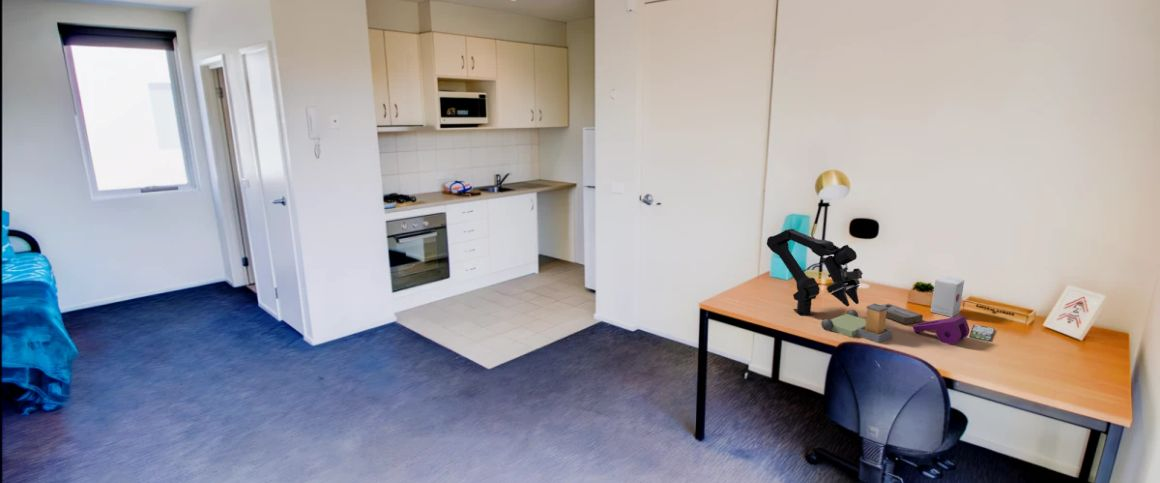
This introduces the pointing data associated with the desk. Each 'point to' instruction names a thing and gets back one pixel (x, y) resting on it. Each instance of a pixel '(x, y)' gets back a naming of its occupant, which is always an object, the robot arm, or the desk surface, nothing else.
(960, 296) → the supplement box
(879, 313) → the tan rectangular column
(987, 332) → the mottled grey green block
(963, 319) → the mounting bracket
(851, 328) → the green slab with frame
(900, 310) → the box
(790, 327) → the desk surface
